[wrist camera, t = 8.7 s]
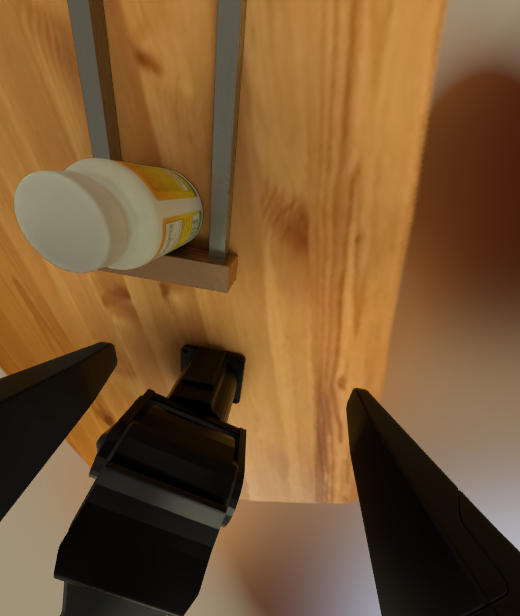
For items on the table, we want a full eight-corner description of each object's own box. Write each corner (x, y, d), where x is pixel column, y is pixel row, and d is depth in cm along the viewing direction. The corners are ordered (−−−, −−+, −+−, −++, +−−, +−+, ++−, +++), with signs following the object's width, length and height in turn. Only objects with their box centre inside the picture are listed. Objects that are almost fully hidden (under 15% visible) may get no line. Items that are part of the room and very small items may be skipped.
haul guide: (235, 278, 20) (227, 292, 17) (111, 257, 21) (84, 267, 18) (271, -100, 11) (263, -190, 8) (49, -121, 12) (-23, -212, 9)
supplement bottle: (212, 239, 19) (145, 284, 10) (151, 248, 20) (44, 295, 11) (193, 161, 16) (87, 134, 8) (125, 174, 17) (-34, 164, 9)
